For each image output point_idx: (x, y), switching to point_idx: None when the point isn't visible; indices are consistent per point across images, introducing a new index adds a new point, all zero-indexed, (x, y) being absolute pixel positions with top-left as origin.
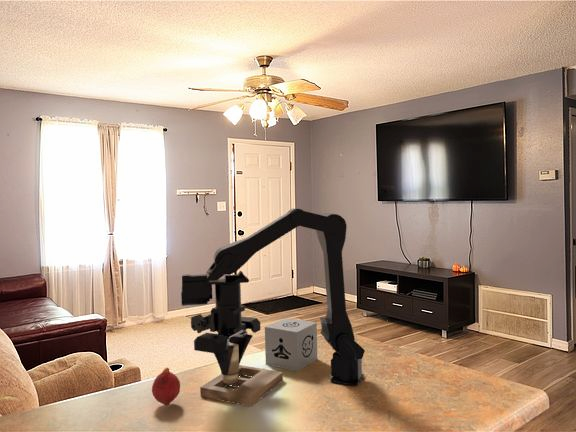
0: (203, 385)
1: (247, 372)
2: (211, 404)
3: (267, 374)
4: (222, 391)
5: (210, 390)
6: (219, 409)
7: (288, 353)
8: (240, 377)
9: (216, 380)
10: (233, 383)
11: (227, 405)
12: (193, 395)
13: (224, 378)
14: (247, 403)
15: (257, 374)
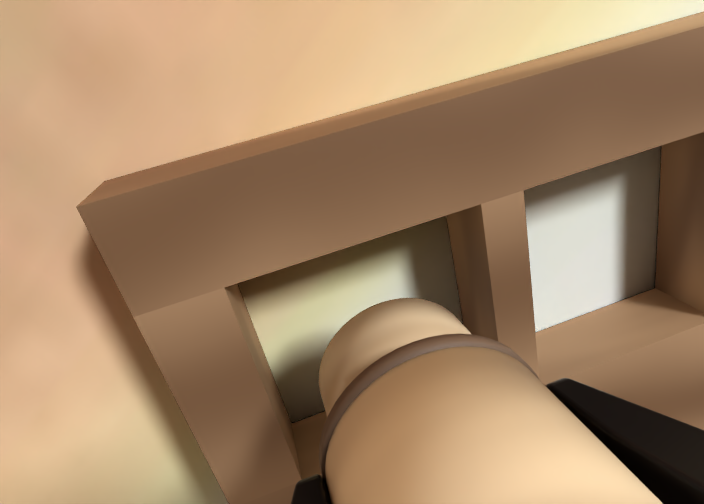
0: (139, 196)
1: (692, 179)
2: (90, 392)
3: (665, 406)
4: (205, 452)
5: (145, 333)
6: (92, 492)
7: None
8: (531, 314)
9: (347, 193)
10: (463, 257)
11: (183, 474)
12: (47, 102)
13: (327, 408)
14: None
15: (640, 360)
